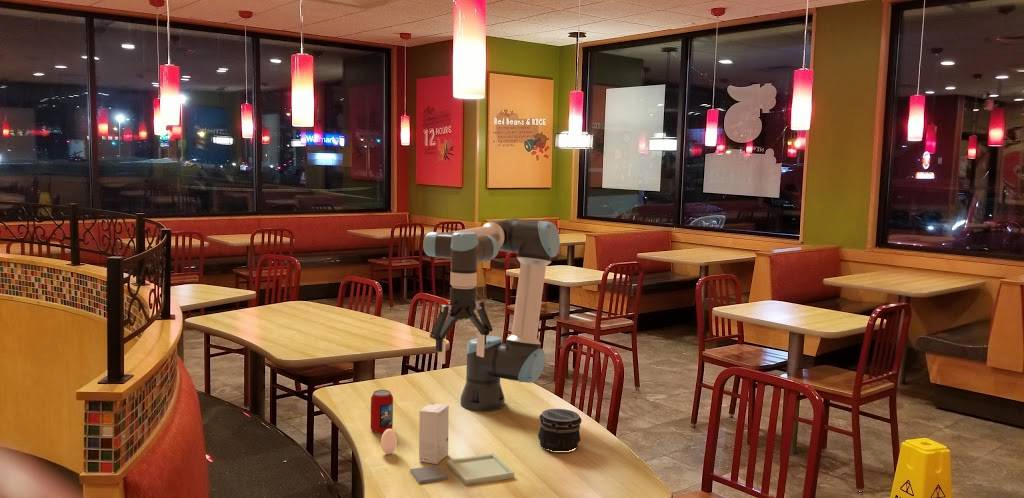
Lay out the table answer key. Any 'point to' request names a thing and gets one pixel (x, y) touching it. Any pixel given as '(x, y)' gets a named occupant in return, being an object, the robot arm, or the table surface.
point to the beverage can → (381, 411)
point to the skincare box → (433, 433)
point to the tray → (480, 469)
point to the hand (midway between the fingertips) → (461, 359)
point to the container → (559, 429)
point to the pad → (429, 474)
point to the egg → (389, 441)
